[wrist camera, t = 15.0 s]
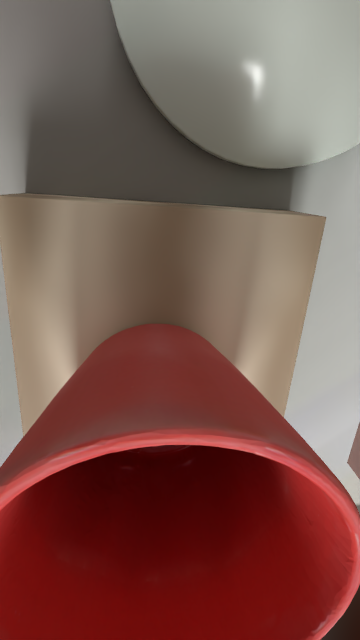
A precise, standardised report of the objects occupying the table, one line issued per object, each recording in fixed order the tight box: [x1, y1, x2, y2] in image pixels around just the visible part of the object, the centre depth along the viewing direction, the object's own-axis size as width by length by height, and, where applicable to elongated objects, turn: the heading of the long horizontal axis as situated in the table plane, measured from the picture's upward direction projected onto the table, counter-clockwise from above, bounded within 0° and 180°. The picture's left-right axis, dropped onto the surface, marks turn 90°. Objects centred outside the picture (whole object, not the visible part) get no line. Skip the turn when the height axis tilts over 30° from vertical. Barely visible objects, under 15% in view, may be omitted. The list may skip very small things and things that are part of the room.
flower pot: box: [0, 324, 360, 640], centre depth 13 cm, size 11×11×10 cm
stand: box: [0, 193, 326, 437], centre depth 19 cm, size 14×14×4 cm
